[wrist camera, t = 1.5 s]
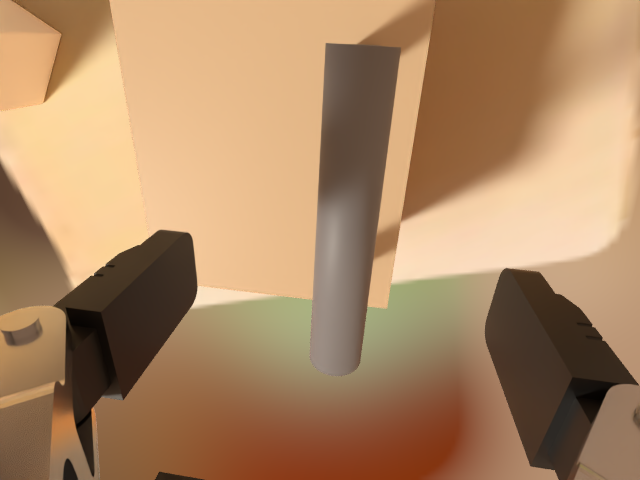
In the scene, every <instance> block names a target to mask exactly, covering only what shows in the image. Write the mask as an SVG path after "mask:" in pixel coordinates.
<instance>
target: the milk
mask: <svg viewBox="0 0 640 480" xmlns="http://www.w3.org/2000/svg"><path fill="white" fill-rule="evenodd" d="M60 38H61V33H59V32H58V31H57V30H55V29H54V28H52V27H51V26H49V25H48V24H46V23H45V22H43V21H42V20H40V19H39V18H37V17H36V16H34V15H33V14H31V13H30V12H28V11H27V10H25V9H24V8H22V7H21V6H19V5H18V4H16V3H15V2H13V1H12V0H0V111H6V110H11V109H17V108H22V107H28V106H34V105H39V104H43V102H44V98H45V94H46V90H47V87H48V83H49V79H50V76H51V72H52V68H53V64H54V61H55V57H56V53H57V49H58V46H59V42H60Z"/></svg>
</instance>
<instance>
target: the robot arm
mask: <svg viewBox="0 0 640 480" xmlns="http://www.w3.org/2000/svg"><path fill="white" fill-rule="evenodd" d="M197 285H198V284H197V273H196V264H195V254H194V245H193V239H192V236H191V235H190V233H188V232H180V231H171V230H158V231H157V232H155V233H154V234H153V235H152V236H151V237H149V238H148V239H147V240H146V241H145V242H143V243H142V244H141V245H137V246H135V247H133V248H131V249H128V250H126V251H124V252H122V253H119V254H118V255H117V256H116V257H114V258H113V259H112V260H110V261H109V262H108V263H107V264H106V266H105V267H102V268H100V269H99V270H98V271H97V272H95V273H94V276H90V277H89V278H88V279H87V280H85V281H84V282H83V283H81V284H80V285H79V286H78V287H76V288H75V289H74V290H73V291H71V292H70V293H69V294H68V295H66V296H65V297H64V298H63V299H61V300H60V301H59V302H57V303H56V304H55V305H54V306H32V307H27V308H22V309H18V310H15V311H12V312H9V313H7V314H5V315H2V316H0V480H100V475H99V459H98V443H97V428H96V415H95V411H94V408H93V406H94V405H95V404H96V403H97V401H98V400H99V399H100V398H101V397H105V398H111V399H118V400H124V398H125V397H126V396H127V394H128V393H129V391H130V390H131V389H132V387H133V386H134V384H135V383H136V382H137V380H138V379H139V378H140V376H141V375H142V374H143V372H144V371H145V369H146V368H147V367H148V365H149V364H150V362H151V361H152V360H153V358H154V357H155V355H156V354H157V353H158V352H159V350H160V349H161V347H162V346H163V345H164V343H165V342H166V341H167V339H168V338H169V336H170V335H171V334H172V332H173V331H174V330H175V328H176V327H177V325H178V324H179V323H180V321H181V320H182V318H183V317H184V316H185V314H186V313H187V312H188V310H189V309H190V307H191V306H192V305H193V303H194V300H195V297H196V294H197ZM485 338H486V344H487V347H488V349H489V352H490V355H491V358H492V361H493V363H494V366H495V369H496V372H497V375H498V377H499V380H500V383H501V386H502V388H503V391H504V394H505V397H506V400H507V402H508V405H509V408H510V411H511V414H512V416H513V419H514V422H515V424H516V427H517V430H518V433H519V436H520V438H521V441H522V444H523V446H524V449H525V452H526V455H527V458H528V460H529V463H530V466H532V467H538V468H545V469H551V470H555V472H556V474H557V476H558V479H559V480H640V386H639V384H638V383H637V382H636V381H635V379H634V378H633V377H632V375H631V374H630V373H629V371H628V370H627V369H626V368H625V366H624V365H623V364H622V362H621V361H620V360H619V358H618V357H617V356H616V355H615V353H614V352H613V351H612V349H611V348H610V347H609V345H608V344H607V343H606V342H605V341H602V336H601V335H600V334H599V332H598V331H597V330H596V328H594V327H592V323H591V322H590V321H589V319H588V318H587V317H586V315H585V314H584V313H583V312H582V310H581V309H580V308H579V307H577V306H576V305H574V304H573V303H572V302H570V301H569V300H568V299H566V298H565V297H564V296H562V295H560V294H555V293H554V291H553V290H552V288H551V287H550V286H549V284H548V283H547V281H546V280H545V279H544V277H543V276H542V275H541V273H539V272H536V271H527V270H518V269H509V268H506V269H504V270H503V271H502V272H501V274H500V277H499V280H498V283H497V287H496V290H495V293H494V296H493V300H492V303H491V306H490V310H489V313H488V316H487V320H486V325H485ZM155 480H203V479H197V478H192V477H185V476H180V475H174V474H168V473H163V472H159V473H158V475H157V477H156V479H155Z"/></svg>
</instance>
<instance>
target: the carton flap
mask: <svg viewBox="0 0 640 480" xmlns="http://www.w3.org/2000/svg"><path fill="white" fill-rule="evenodd" d="M109 2H110V8H111V14H112V20H113V26H114V31H115V37H116V43H117V49H118V55H119V61H120V67H121V73H122V79H123V85H124V91H125V97H126V103H127V109H128V115H129V121H130V127H131V133H132V139H133V145H134V150H135V156H136V162H137V168H138V174H139V180H140V186H141V192H142V198H143V204H144V210H145V216H146V222H147V228H148V234H149V237H151V236H152V235H153V234H154V233H155V232H157V231H158V230H171V231H180V232H188V233H190V235H191V236H192V239H193V245H194V254H195V264H196V273H197V284H198V285H197V286H204V287H212V288H220V289H228V290H237V291H245V292H253V293H262V294H270V295H278V296H287V297H295V298H304V299H311V300H312V320H311V339H310V360H311V363H312V365H313V366H314V367H315V368H316V369H317V370H319V371H320V372H322V373H324V374H327V375H331V376H343V375H347V374H350V373H352V372H353V371H355V370H356V369H357V368H358V366H359V364H360V358H361V350H362V343H363V336H364V328H365V321H366V313H367V306H370V307H378V308H387V305H388V298H389V292H390V286H391V280H392V273H393V267H394V261H395V255H396V248H397V242H398V236H399V229H400V223H401V217H402V211H403V204H404V198H405V192H406V186H407V179H408V173H409V167H410V161H411V154H412V148H413V142H414V136H415V129H416V123H417V117H418V110H419V104H420V98H421V92H422V85H423V79H424V73H425V67H426V60H427V54H428V48H429V42H430V35H431V29H432V23H433V17H434V10H435V4H436V0H109Z"/></svg>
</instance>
